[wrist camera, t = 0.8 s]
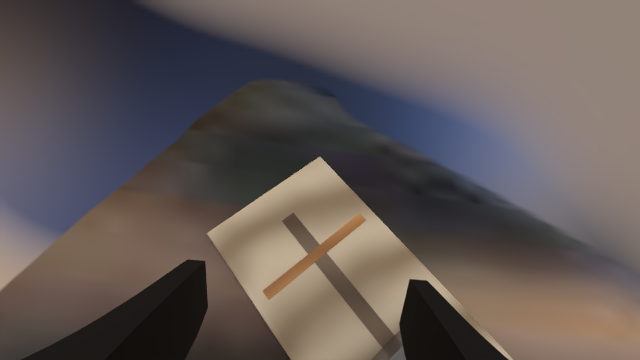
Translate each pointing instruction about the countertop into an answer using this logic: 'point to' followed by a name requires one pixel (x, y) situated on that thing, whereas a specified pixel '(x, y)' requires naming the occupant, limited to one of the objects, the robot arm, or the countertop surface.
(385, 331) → the fader board
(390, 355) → the fader knob
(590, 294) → the countertop surface
